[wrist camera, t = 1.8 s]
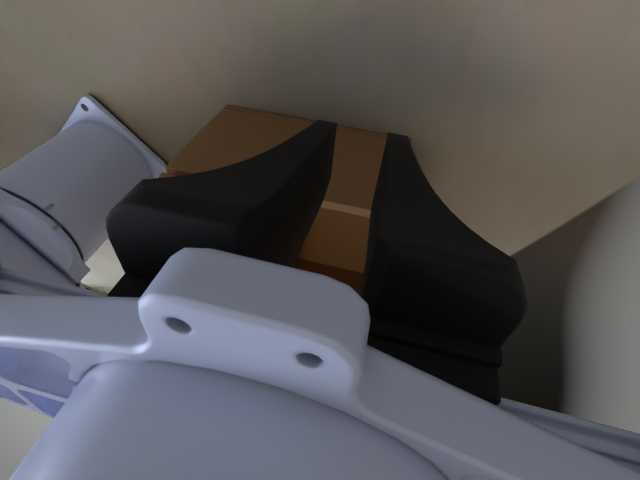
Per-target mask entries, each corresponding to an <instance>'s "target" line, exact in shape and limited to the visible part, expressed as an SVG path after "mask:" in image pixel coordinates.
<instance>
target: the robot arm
mask: <svg viewBox="0 0 640 480" xmlns="http://www.w3.org/2000/svg"><path fill="white" fill-rule="evenodd" d="M86 106H87V107H88V108H87V107H86ZM336 130H337V123H333V122H328V121H322V120H318V121H316V122H315V123H313V124H311V125H310V126H308V127H307V128H305V129H304V130H302V131H301V132H299V133H298V134H296V135H294V136H293V137H291V138H289V139H288V140H286V141H284V142H282V143H281V144H279V145H277V146H275V147H273V148H271V149H269V150H267V151H265V152H263V153H261V154H259V155H257V156H254V157H252V158H249V159H246V160H244V161H241V162H238V163H235V164H231V165H228V166H224V167H221V168H217V169H213V170H209V171H204V172H200V173H194V174H188V175H181V176H173V177H163V178H159V175H160V174H161V173H167V171H166V166H167V164H165V163H164V162H163V161H162V160H161V159H160V158H159V157H158V156H157V155H156V154H155V153H153V152H152V151H151V150H150V149H149V148H148V147H147V146H146V145H145V144H144V143H142V142H141V141H140V140H139V139H138V138H137V137H136V136H135V135H134V134H133V133H132V132H130V131H129V130H128V129H127V128H126V127H125V126H124V125H123V124H122V123H121V122H119V121H118V120H117V119H116V118H115V117H114V116H113V115H112V114H111V113H110V112H109V111H107V110H106V109H105V108H104V107H103V106H102V105H101V104H100V103H99V102H98V101H97V100H95V99H94V98H93V97H92V96H90V95H84V96H83V97H81V99H80V100H79V102H78V104H77V105H76V107H75V108H74V110H73V112H72V113H71V115H70V116H69V118H68V120H67V121H66V123H65V124H64V126H63V127H62V129H61V131H60V132H59V134H57V135H56V136H54V137H53V138H51V139H50V140H48V141H47V142H45V143H43V144H42V145H40V146H39V147H37V148H36V149H34V150H33V151H31V152H30V153H28V154H26V155H25V156H23V157H22V158H20V159H19V160H17V161H16V162H14V163H12V164H11V165H9V166H8V167H6V168H5V169H3V170H2V171H0V398H2V399H5V400H8V401H10V402H13V403H15V404H18V405H21V406H23V407H26V408H29V409H31V410H34V411H36V412H38V413H41V414H44V415H46V416H49V417H51V418H54V419H53V420H52V421H51V423H50V424H49V426H48V427H47V428H46V430H45V431H44V432H43V434H42V435H41V436H40V438H39V439H38V441H37V442H36V443H35V445H34V446H33V447H32V449H31V450H30V451H29V453H28V454H27V456H26V457H25V458H24V460H23V461H22V462H21V464H20V465H19V467H18V468H17V469H16V471H15V472H14V473H13V475H12V476H11V477H10V479H9V480H640V434H638V433H634V432H631V431H627V430H623V429H619V428H615V427H611V426H607V425H604V424H600V423H596V422H592V421H588V420H585V419H581V418H577V417H573V416H569V415H565V414H562V413H558V412H554V411H550V410H547V409H543V408H539V407H535V406H531V405H527V404H523V403H520V402H516V401H512V400H508V399H504V398H501V397H500V388H499V379H498V370H497V367H498V368H499V367H500V366H501V365H502V352H501V347H502V346H503V344H504V343H505V342H506V341H507V340H508V338H509V337H510V336H511V335H512V334H513V333H514V331H515V330H516V329H517V328H518V327H519V325H520V324H521V323H522V321H523V319H524V317H525V316H526V314H527V299H526V294H525V289H524V286H523V282H522V278H521V275H520V272H519V269H518V267H517V264H516V260H514V259H513V258H511V257H510V256H508V255H507V254H505V253H503V252H502V251H500V250H499V249H497V248H496V247H494V246H493V245H491V244H489V243H488V242H486V241H485V240H484V239H482V238H481V237H480V236H479V235H477V234H476V233H475V232H473V231H472V230H471V229H470V228H469V227H467V226H466V225H465V224H464V223H463V222H462V221H461V220H460V219H459V218H458V217H457V216H456V215H454V214H453V213H452V212H451V211H450V210H449V208H448V207H447V206H446V205H445V204H444V203H443V202H442V200H441V199H440V198H439V197H438V195H437V194H436V193H435V192H434V190H433V189H432V187H431V186H430V184H429V182H428V181H427V179H426V177H425V175H424V174H423V172H422V170H421V168H420V166H419V164H418V162H417V159H416V157H415V155H414V152H413V149H412V147H411V143H410V140H409V138H408V137H407V136H403V135H398V134H392V133H388V135H387V139H386V144H385V148H384V153H383V157H382V162H381V166H380V171H379V175H378V180H377V184H376V189H375V193H374V197H373V202H372V206H371V213H370V222H369V232H368V242H367V251H366V261H365V267H364V273H363V278H362V282H361V287H360V292H359V295H358V294H357V293H356V292H355V291H354V290H353V289H352V288H351V287H350V286H349V285H347V284H344V283H342V282H340V281H337V280H335V279H333V278H330V277H328V276H325V275H321V274H317V273H313V272H309V271H305V270H300V269H296V268H294V266H295V263H296V260H297V257H298V255H299V252H300V250H301V247H302V245H303V243H304V241H305V239H306V237H307V235H308V232H309V230H310V228H311V226H312V224H313V222H314V220H315V218H316V215H317V213H318V211H319V209H320V207H321V205H322V203H323V200H324V198H325V195H326V191H327V188H328V185H329V182H330V178H331V173H332V165H333V156H334V147H335V138H336ZM108 238H109V239H110V242H111V244H112V246H113V248H114V250H115V252H116V255H117V257H118V259H119V261H120V263H121V265H122V267H123V269H124V272H125V274H124V276H123V277H122V278H121V279H120V280H119V282H118V283H117V284H116V285H115V286H114V288H113V289H112V290H111V291H110V293H109V294H108V295H107V294H103V293H99V292H96V291H92V290H88V289H86V288H85V286H84V285H83V283H81V282H80V281H81V279H82V278H83V277H84V276H85V275H86V274H87V273H88V272H89V271H90V269H89V268H88V267H87V266H86V265H85V262H86V261H87V260H88V259H89V258H90V257H91V256H92V254H93V253H94V252H95V251H96V250H97V249H98V248H99V247H100V246H101V245H102V244H103V243H104V242H105V241H106V240H107V239H108Z"/></svg>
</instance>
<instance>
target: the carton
mask: <svg viewBox="0 0 640 480" xmlns="http://www.w3.org/2000/svg"><path fill="white" fill-rule="evenodd" d="M315 122H316V121H311V120H305V119H300V118H295V117H289V116H284V115H279V114H273V113H268V112H262V111H257V110H252V109H246V108H241V107H236V106H230V105H226V106H225V107H224V108H223V109H222V110H221V111H220V112H219V113H218V114H217V115H216V116H215V117H214V118H213V119H212V120H211V121H210V122H209V123H208V124H207V125H206V126H205V127H204V128H203V129H202V130H201V131H200V132H199V133H198V134H197V135H196V136H195V137H194V138H193V139H192V140H191V141H190V142H189V143H188V144H187V145H186V146H185V147H184V148H183V149H182V150H181V151H180V152H179V153H178V154H177V155H176V156H175V157H174V158H173V159H172V160H171V161H170V162H169V164H168V165H167V166H166V171H167V173H161V174H160V175H159V178H163V177H173V176H181V175H188V174H194V173H200V172H204V171H209V170H213V169H217V168H221V167H224V166H228V165H231V164H235V163H238V162H241V161H244V160H246V159H249V158H252V157H254V156H257V155H259V154H261V153H263V152H265V151H267V150H269V149H271V148H273V147H275V146H277V145H279V144H281V143H282V142H284V141H286V140H288V139H289V138H291V137H293V136H294V135H296V134H298V133H299V132H301V131H302V130H304V129H305V128H307V127H308V126H310V125H311V124H313V123H315ZM386 139H387V135H386V134H381V133H375V132H370V131H364V130H359V129H354V128H348V127H343V126H338V125H337V130H336V138H335V147H334V156H333V165H332V173H331V178H330V182H329V185H328V188H327V191H326V195H325V198H324V200H323V203H322V205H321V207H320V209H319V211H318V213H317V215H316V218H315V220H314V222H313V224H312V226H311V228H310V230H309V232H308V235H307V237H306V239H305V241H304V243H303V245H302V247H301V250H300V252H299V255H298V257H297V260H296V263H295V266H294V268H296V269H300V270H305V271H309V272H313V273H317V274H321V275H325V276H328V277H330V278H333V279H335V280H337V281H340V282H342V283H344V284H347V285H349V286H350V287H351V288H352V289H353V290H354V291H355V292H356V293H357V294H358V295H359V292H360V287H361V282H362V278H363V273H364V267H365V261H366V251H367V242H368V232H369V222H370V213H371V206H372V202H373V197H374V193H375V189H376V184H377V180H378V175H379V171H380V166H381V162H382V157H383V153H384V148H385V144H386ZM409 140H410V143H411V139H409Z"/></svg>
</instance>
